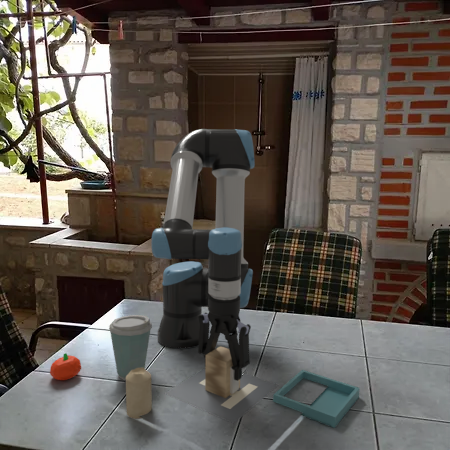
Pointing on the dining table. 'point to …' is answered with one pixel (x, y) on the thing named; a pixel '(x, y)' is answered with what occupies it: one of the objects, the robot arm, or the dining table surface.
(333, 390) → the tray
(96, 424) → the dining table surface
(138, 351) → the disposable coffee cup
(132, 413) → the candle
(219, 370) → the wooden block
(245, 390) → the board
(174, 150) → the robot arm
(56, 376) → the pumpkin
